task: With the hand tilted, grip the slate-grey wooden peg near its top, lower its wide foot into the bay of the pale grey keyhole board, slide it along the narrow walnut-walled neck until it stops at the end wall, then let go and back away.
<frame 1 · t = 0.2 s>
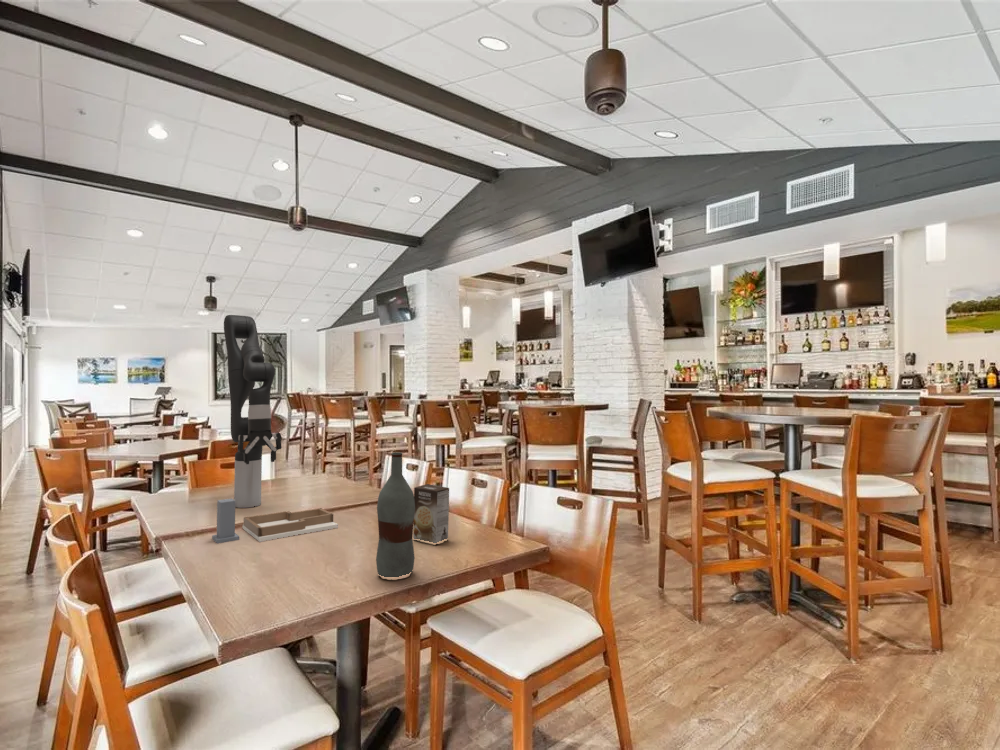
hand: (260, 463, 190), 18 cm above the table, tool pointing down, fingers open, 8 cm apart
bottle: (395, 575, 131), on the table
keyhole guide board: (290, 528, 170), on the table
slate keyhole peg: (225, 539, 158), on the table
coffee box: (430, 541, 159), on the table
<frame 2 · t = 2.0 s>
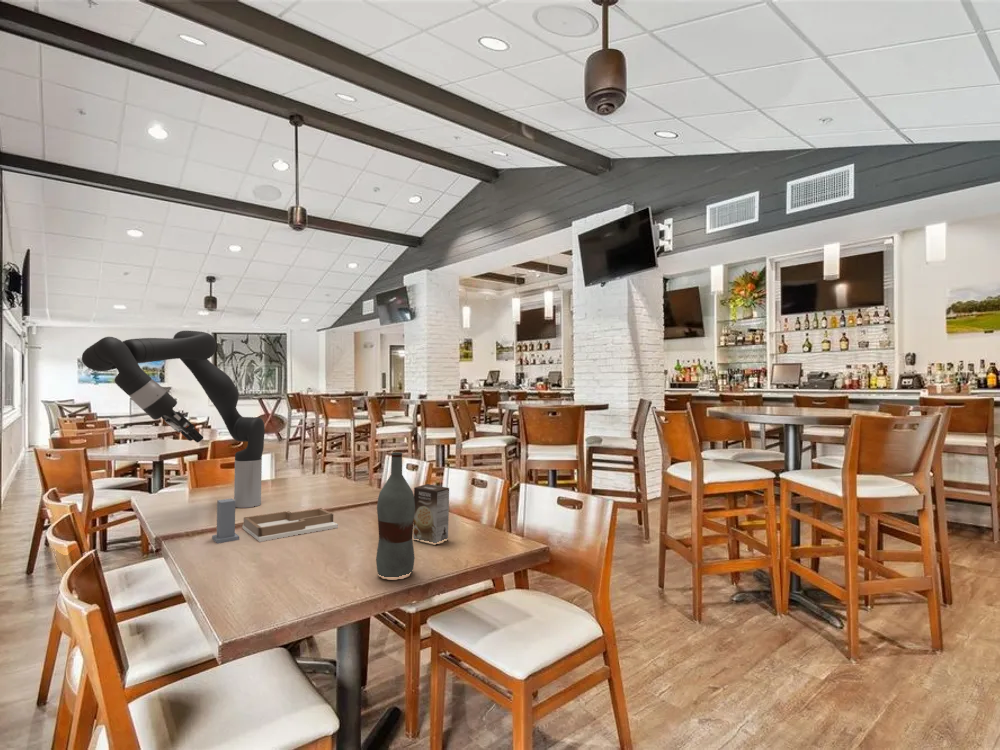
hand: (196, 439, 155), 30 cm above the table, tool tilted 40°, fingers open, 8 cm apart
nothing on the table moved.
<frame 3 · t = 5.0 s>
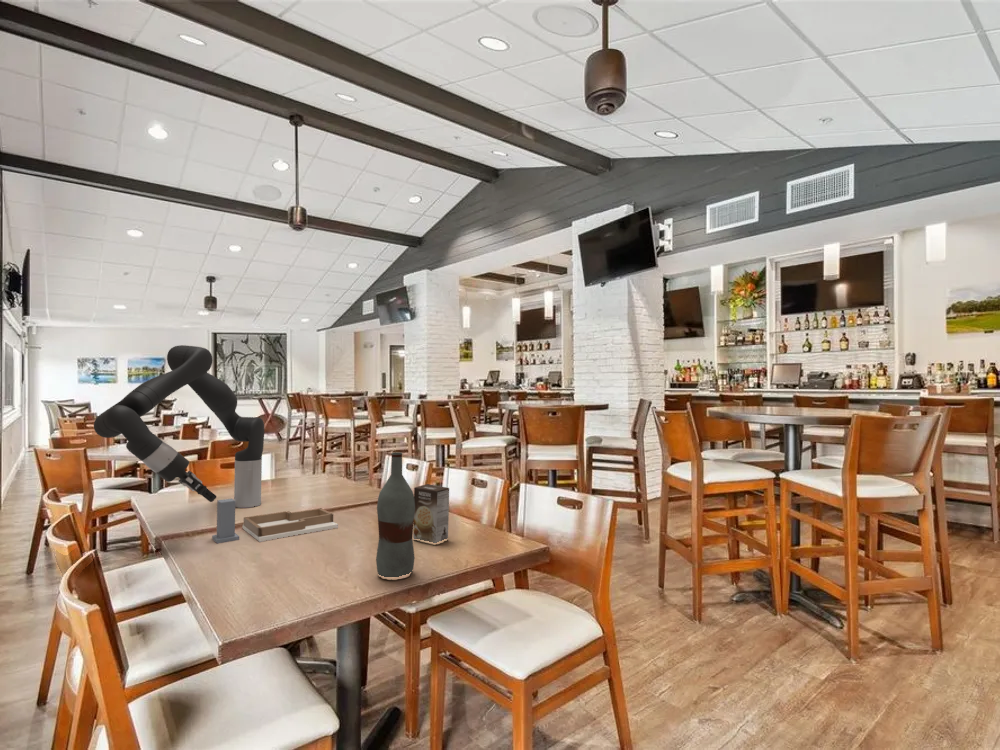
hand: (210, 496, 155), 13 cm above the table, tool tilted 45°, fingers open, 8 cm apart
nothing on the table moved.
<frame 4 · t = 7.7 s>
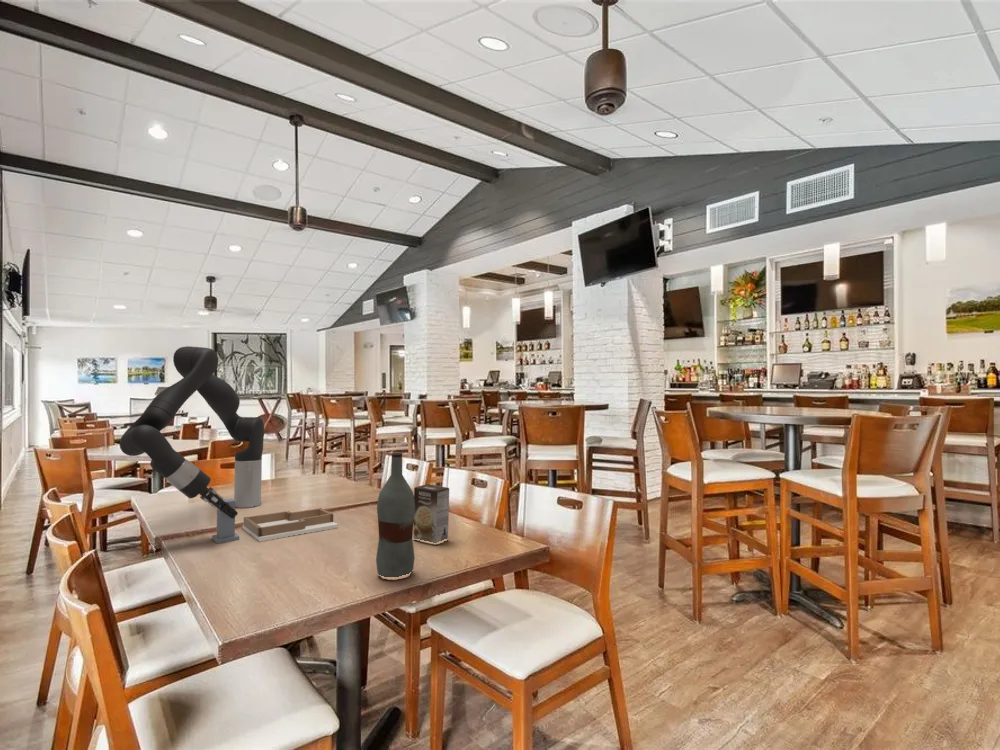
hand: (233, 514, 159), 7 cm above the table, tool tilted 45°, fingers closed on slate keyhole peg, 4 cm apart
slate keyhole peg: (225, 539, 158), on the table, touching gripper
everything else where it was.
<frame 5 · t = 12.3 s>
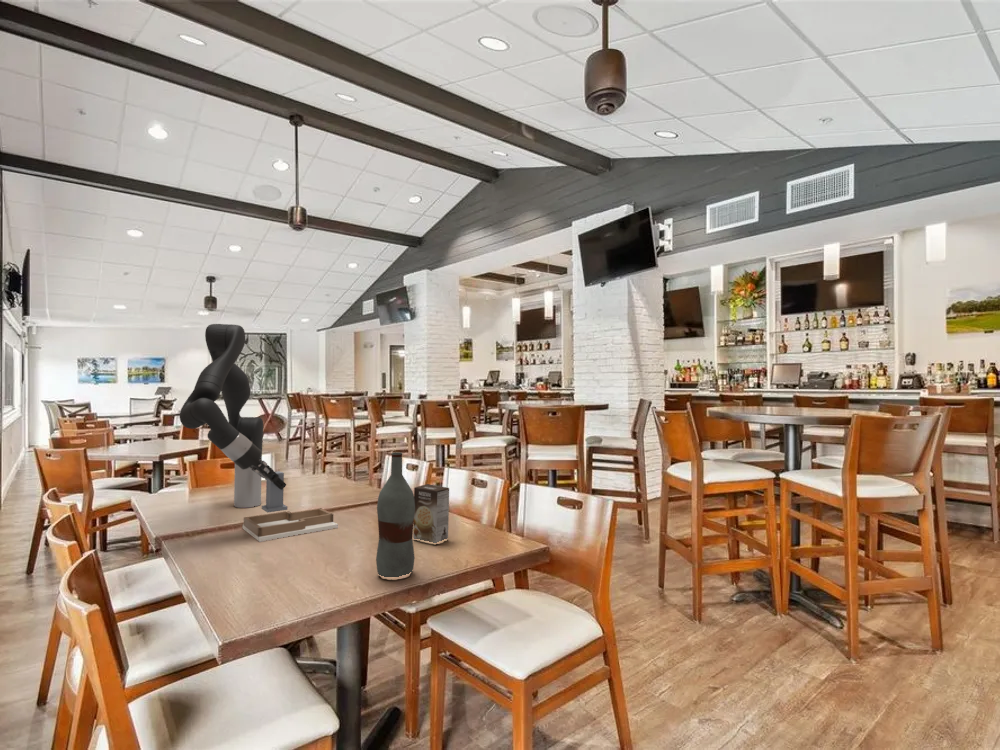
hand: (281, 486, 168), 14 cm above the table, tool tilted 45°, fingers closed on slate keyhole peg, 4 cm apart
slate keyhole peg: (274, 509, 167), point 7 cm above the table, touching gripper
everything else where it was.
when the fingers open (9 cm above the table, at t = 16.9 s): slate keyhole peg stays where it is, resting on keyhole guide board.
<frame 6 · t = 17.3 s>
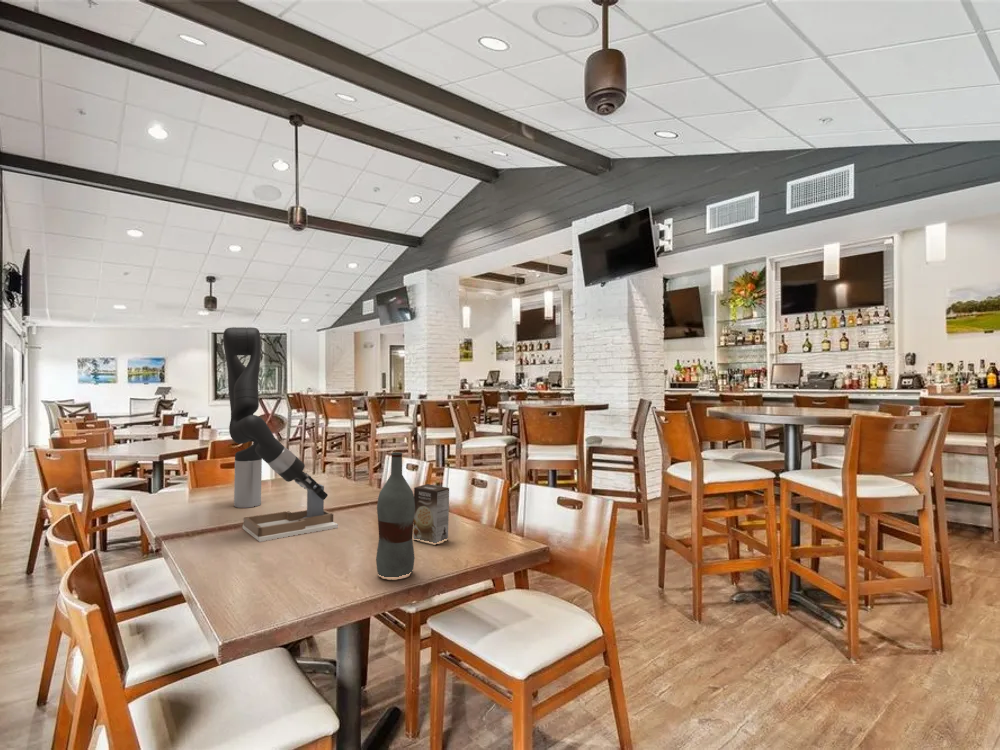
hand: (320, 495, 177), 9 cm above the table, tool tilted 45°, fingers open, 7 cm apart
slate keyhole peg: (315, 520, 175), point 1 cm above the table, touching keyhole guide board
everything else where it was.
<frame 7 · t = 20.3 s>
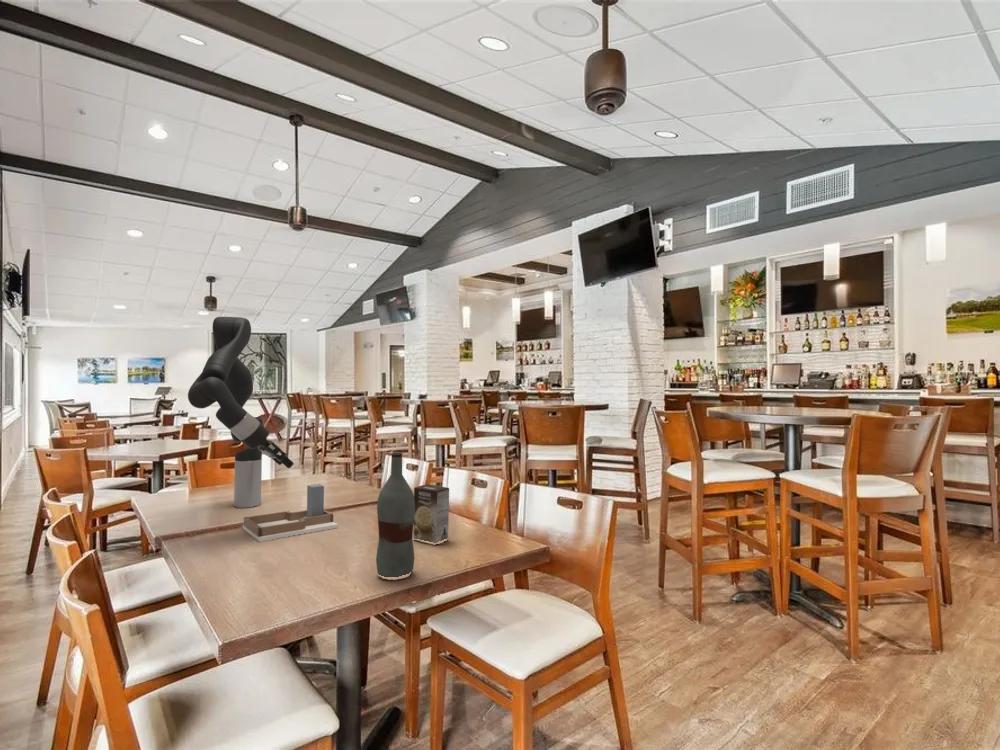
hand: (286, 464, 169), 21 cm above the table, tool tilted 45°, fingers open, 8 cm apart
nothing on the table moved.
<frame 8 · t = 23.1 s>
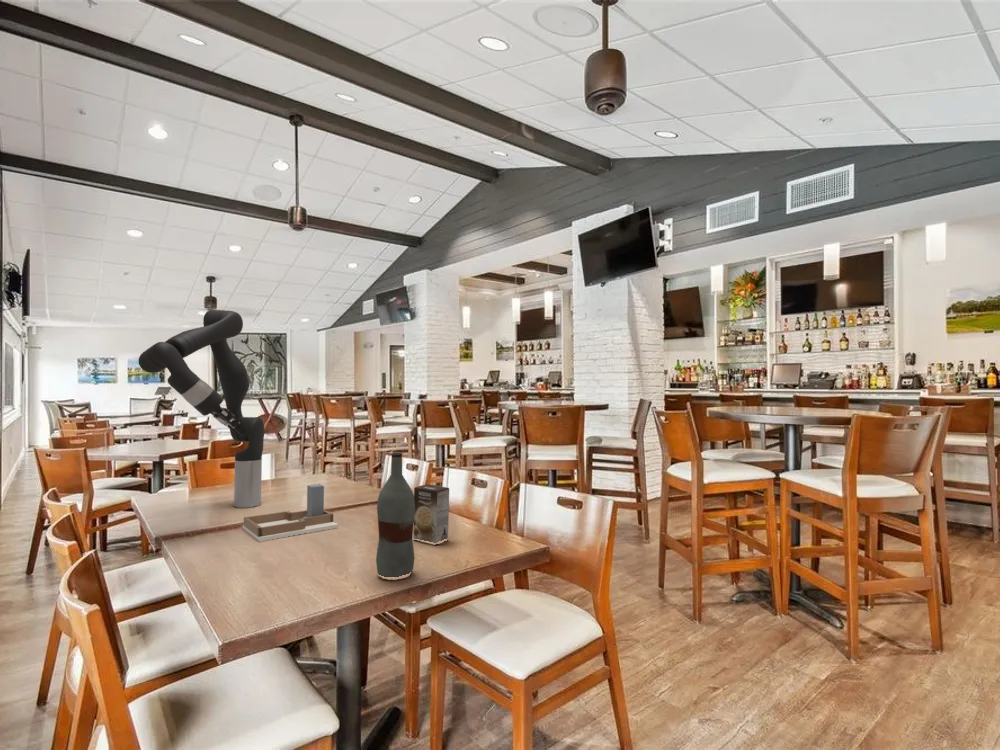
hand: (242, 432, 169), 31 cm above the table, tool tilted 45°, fingers open, 8 cm apart
nothing on the table moved.
at the end: slate keyhole peg 0.3 cm from the target spot on the keyhole guide board, point 1.2 cm above the keyhole guide board's base; slate keyhole peg tilted 0°; the gripper is holding nothing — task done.
